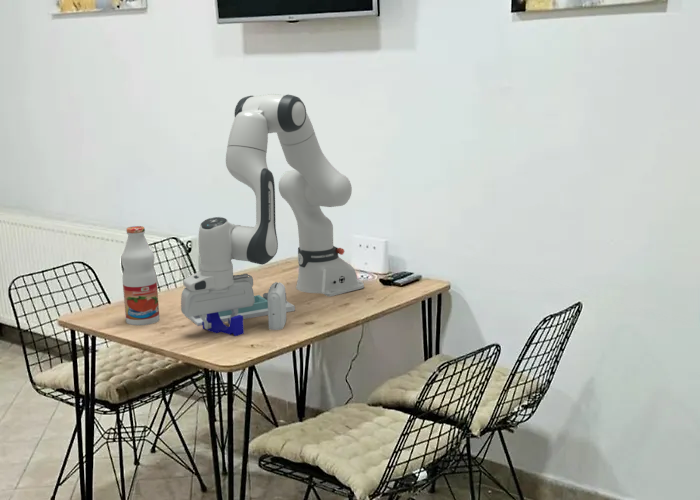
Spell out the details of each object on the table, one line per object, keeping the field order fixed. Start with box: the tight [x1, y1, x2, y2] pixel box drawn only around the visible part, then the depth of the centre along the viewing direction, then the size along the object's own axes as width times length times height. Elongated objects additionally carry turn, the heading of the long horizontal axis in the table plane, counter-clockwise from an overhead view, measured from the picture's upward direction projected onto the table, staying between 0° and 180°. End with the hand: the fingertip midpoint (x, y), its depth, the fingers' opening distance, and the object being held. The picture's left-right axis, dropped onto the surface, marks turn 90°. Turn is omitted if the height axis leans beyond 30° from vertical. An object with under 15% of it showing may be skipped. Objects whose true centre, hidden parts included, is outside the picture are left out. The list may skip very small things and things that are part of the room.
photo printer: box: [267, 281, 287, 331], centre depth 235 cm, size 10×4×12 cm, turn 177°
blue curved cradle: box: [201, 312, 245, 337], centre depth 231 cm, size 12×4×6 cm, turn 49°
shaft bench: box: [185, 292, 296, 327], centre depth 247 cm, size 30×12×7 cm, turn 119°
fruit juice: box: [120, 225, 160, 326], centre depth 238 cm, size 9×9×28 cm
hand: (219, 326), depth 232 cm, fingers closed on blue curved cradle, 5 cm apart
